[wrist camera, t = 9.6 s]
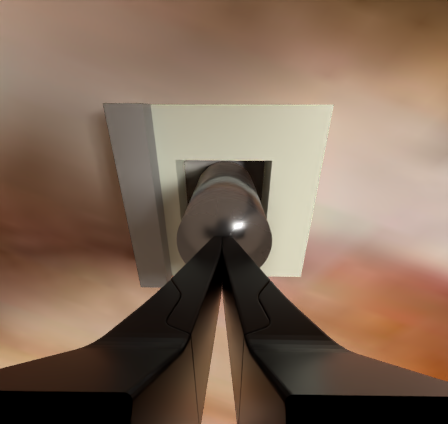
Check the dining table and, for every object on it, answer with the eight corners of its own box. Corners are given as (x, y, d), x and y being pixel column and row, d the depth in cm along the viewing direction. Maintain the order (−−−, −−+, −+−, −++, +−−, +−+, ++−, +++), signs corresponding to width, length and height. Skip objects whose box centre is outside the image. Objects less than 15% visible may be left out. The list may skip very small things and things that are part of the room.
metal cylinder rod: (251, 215, 16) (267, 281, 10) (198, 214, 16) (180, 280, 10) (255, 161, 15) (276, 199, 8) (196, 161, 15) (172, 198, 8)
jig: (315, 106, 13) (345, 103, 10) (291, 255, 18) (306, 289, 14) (134, 105, 13) (102, 103, 10) (157, 254, 18) (141, 287, 14)
